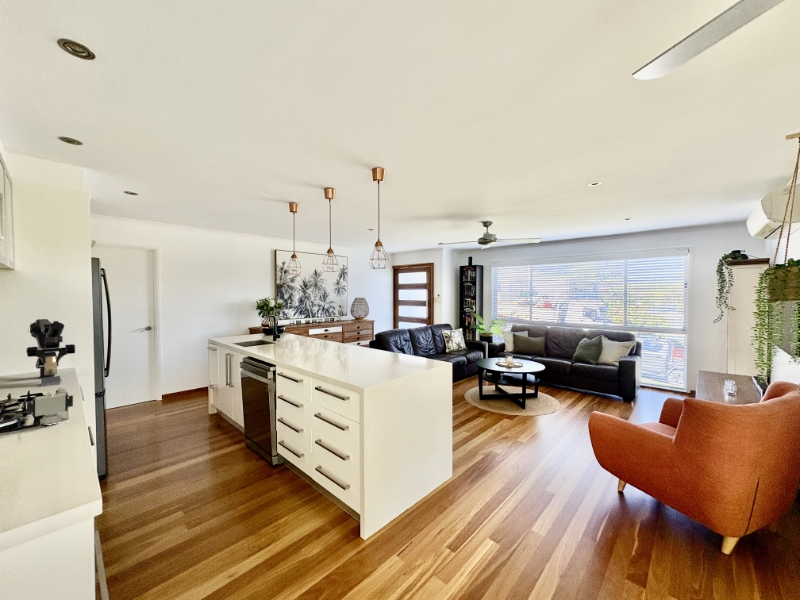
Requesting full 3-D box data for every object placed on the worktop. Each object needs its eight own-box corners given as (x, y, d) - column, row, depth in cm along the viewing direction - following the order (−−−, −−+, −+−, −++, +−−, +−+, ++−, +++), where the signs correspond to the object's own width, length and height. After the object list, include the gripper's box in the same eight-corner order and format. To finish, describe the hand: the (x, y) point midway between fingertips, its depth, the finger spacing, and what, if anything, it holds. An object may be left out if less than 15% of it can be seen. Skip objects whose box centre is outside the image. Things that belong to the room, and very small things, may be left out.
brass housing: (45, 374, 180) (45, 356, 180) (57, 372, 183) (57, 355, 183) (43, 375, 176) (44, 357, 176) (56, 374, 180) (56, 356, 180)
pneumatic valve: (72, 422, 124) (72, 391, 124) (26, 430, 115) (26, 397, 115) (72, 418, 128) (73, 388, 128) (28, 426, 119) (28, 394, 119)
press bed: (43, 383, 180) (43, 375, 180) (61, 381, 185) (61, 373, 185) (41, 386, 174) (41, 378, 174) (59, 384, 178) (59, 376, 178)
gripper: (27, 332, 176) (23, 355, 168) (75, 330, 189) (73, 351, 181) (29, 345, 182) (25, 367, 174) (75, 342, 195) (74, 363, 187)
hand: (50, 362), depth 179 cm, fingers closed on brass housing, 5 cm apart
